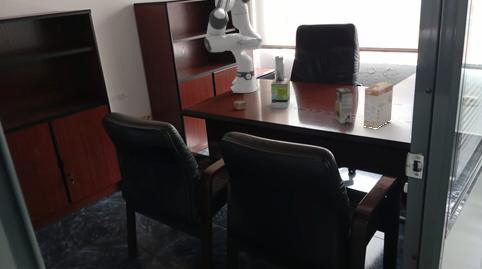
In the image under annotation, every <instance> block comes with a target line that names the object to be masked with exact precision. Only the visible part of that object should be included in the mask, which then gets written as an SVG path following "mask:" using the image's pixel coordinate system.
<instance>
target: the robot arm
mask: <svg viewBox="0 0 482 269" xmlns="http://www.w3.org/2000/svg"><path fill="white" fill-rule="evenodd" d="M250 1H251V0H214V3H215V4H214V5H215V8H214V9H213V10H212V11H211V12H210V14H209V17H208V25H207V30H206V36H205V38H204V46H205V49H206V50H207V51H208V52H210V53H223V52H225V51H230V52H232V54H233V56H234V58H235V62H236V72H235V73H236V74H235V75H236V77H235V78H234V79H233V81H232V83H231V84H232V86H230V89H231V90H232V92H233V93H235V94H237V93H239V94H250V93H255V92H257V91H258V90H259V89H260V87H259V86H258V82H257V81H258V80H257V77H256V76H255V70H254V59H253V58H252V56H251V55H248V54H247V53H246V51H255V50H259V49H261V47H262V45H263V38H262V36H261V35H260V34H259V33H258V32H257V31H255V29H254V28H253V27H252V24H251V20H250V13H249V7H248V3H249V2H250ZM228 12H230V14H231V20H232V25H233V28H236V29H237V30H239V31H240V32H241V33H240V32H239V33H237V32H236V33H227V34H226V30H227V29H226V28H227V25H228V22H229V15H228Z"/></svg>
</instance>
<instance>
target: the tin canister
mask: <svg viewBox="0 0 482 269" xmlns="http://www.w3.org/2000/svg"><path fill="white" fill-rule="evenodd" d="M274 60H275V61H274V62H275V63H274V64H275V78H276V81H284V78H285V56H284V55H277V56H276V55H275V57H274Z"/></svg>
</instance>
